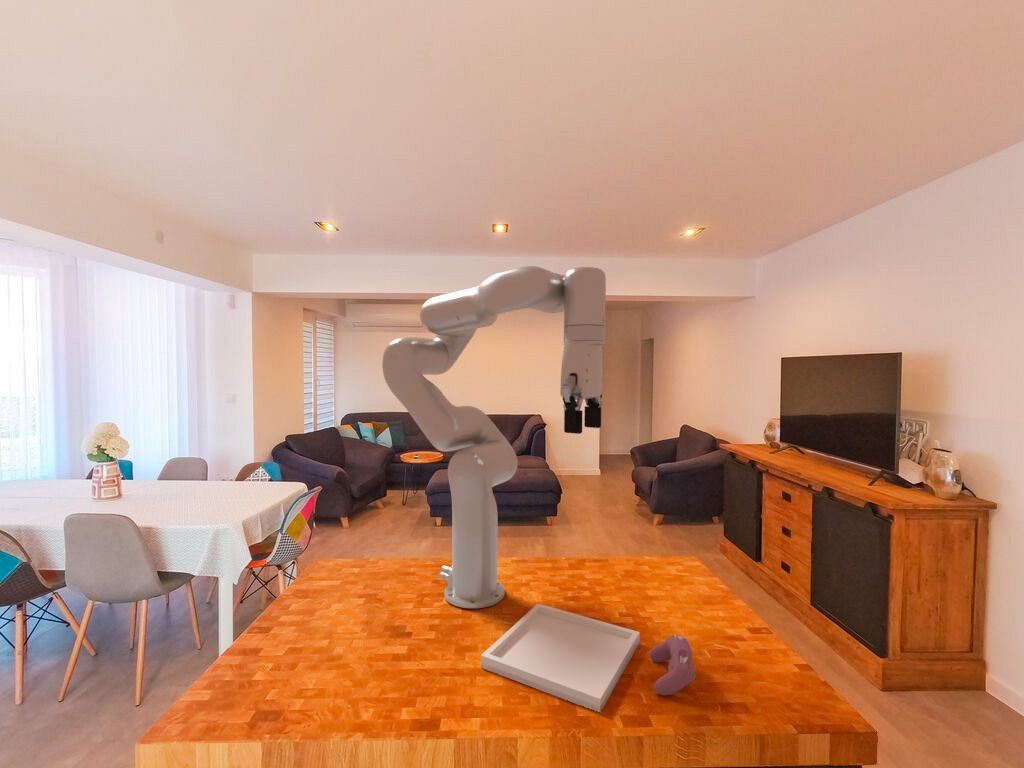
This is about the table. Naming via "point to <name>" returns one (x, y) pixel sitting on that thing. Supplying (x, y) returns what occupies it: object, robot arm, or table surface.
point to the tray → (564, 655)
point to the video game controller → (674, 665)
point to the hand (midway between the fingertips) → (583, 430)
